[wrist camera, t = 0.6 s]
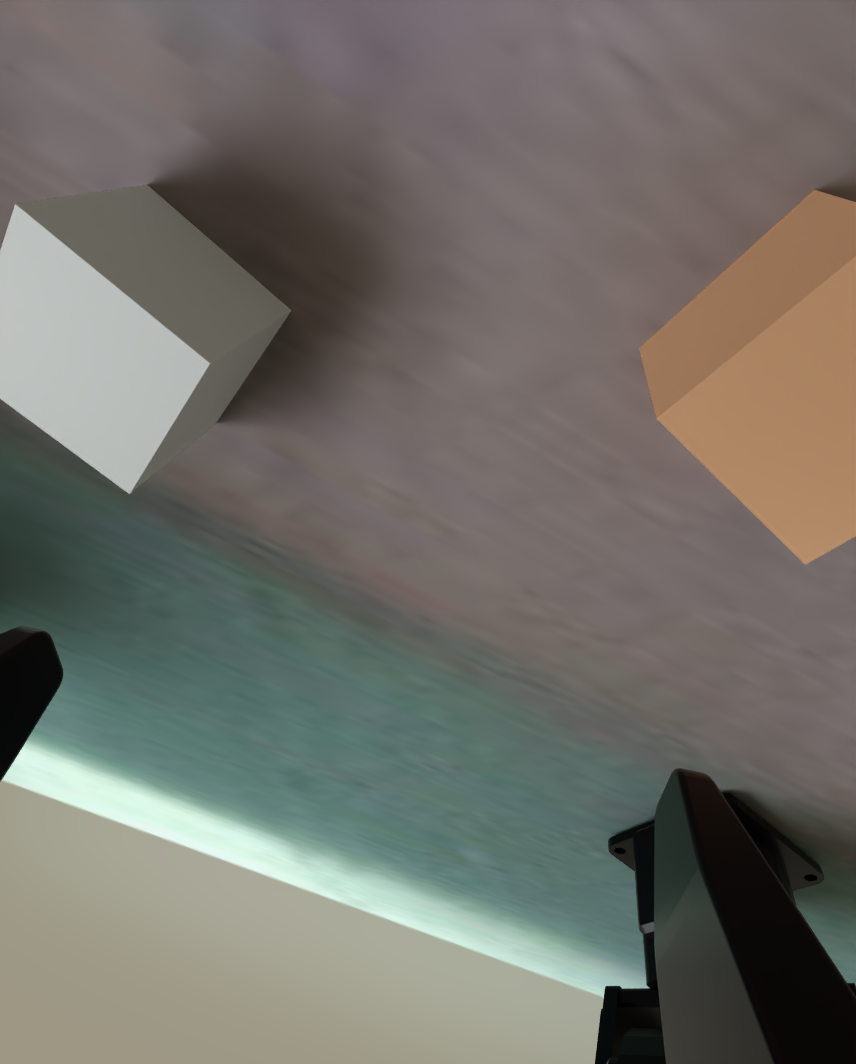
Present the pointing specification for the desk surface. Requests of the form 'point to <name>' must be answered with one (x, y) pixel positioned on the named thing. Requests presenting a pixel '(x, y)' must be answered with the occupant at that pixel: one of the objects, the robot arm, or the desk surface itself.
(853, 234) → the tan cube
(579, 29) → the desk surface
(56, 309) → the light grey cube
